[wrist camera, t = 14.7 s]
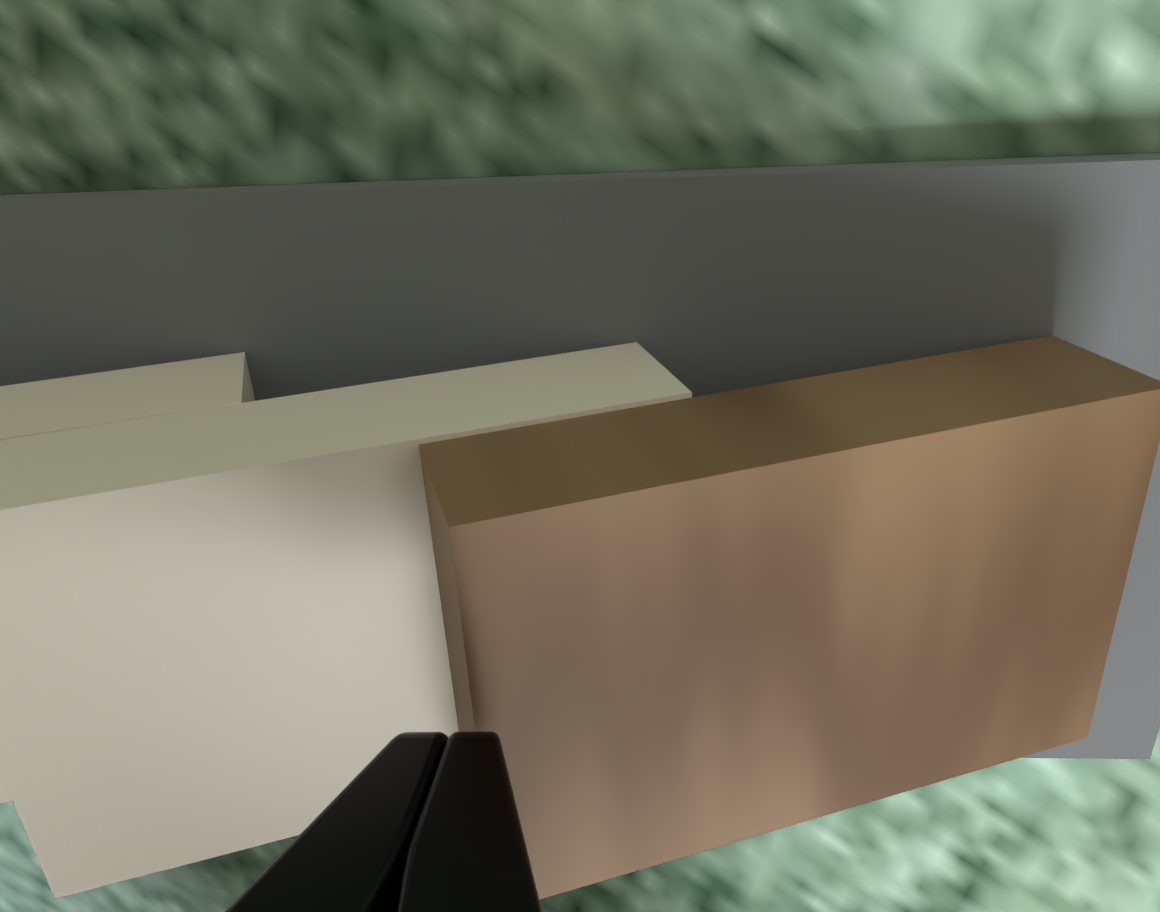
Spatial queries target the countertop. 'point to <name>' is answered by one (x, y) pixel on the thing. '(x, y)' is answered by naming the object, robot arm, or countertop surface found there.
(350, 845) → the robot arm
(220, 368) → the tile
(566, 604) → the walnut domino
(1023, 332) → the mat
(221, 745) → the tile
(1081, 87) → the countertop surface
